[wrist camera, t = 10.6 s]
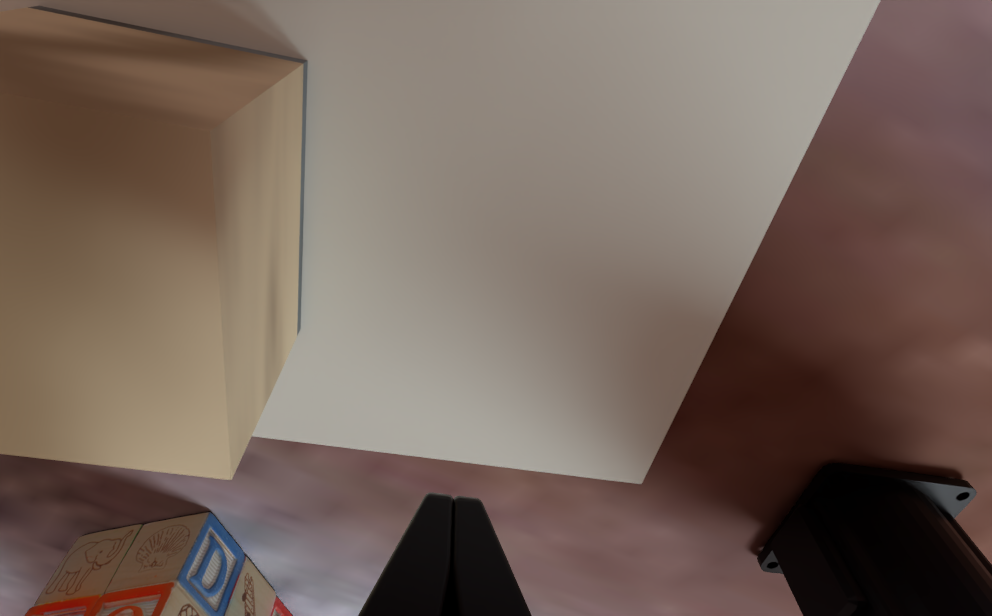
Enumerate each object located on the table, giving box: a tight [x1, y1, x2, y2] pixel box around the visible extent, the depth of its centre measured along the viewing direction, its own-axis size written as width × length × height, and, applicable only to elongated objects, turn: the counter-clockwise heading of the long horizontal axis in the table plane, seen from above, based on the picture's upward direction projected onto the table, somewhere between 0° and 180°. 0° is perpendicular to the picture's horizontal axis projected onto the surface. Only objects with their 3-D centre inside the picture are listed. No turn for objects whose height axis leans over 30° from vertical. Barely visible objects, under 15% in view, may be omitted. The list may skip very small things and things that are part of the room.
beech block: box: [0, 6, 308, 480], centre depth 13 cm, size 6×8×6 cm
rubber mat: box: [0, 0, 880, 484], centre depth 16 cm, size 23×18×1 cm
